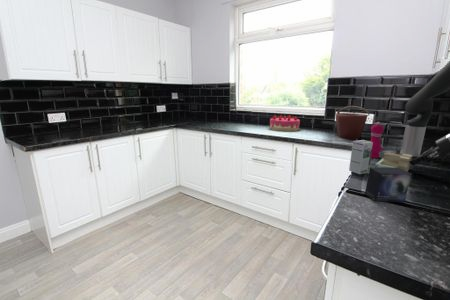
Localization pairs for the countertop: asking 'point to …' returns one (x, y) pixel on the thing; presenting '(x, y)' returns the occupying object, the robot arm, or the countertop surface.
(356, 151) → the syrup box
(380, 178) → the small box
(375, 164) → the pocket
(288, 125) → the cake
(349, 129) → the bucket
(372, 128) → the pepper mill
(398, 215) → the countertop surface
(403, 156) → the tee block
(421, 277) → the countertop surface
